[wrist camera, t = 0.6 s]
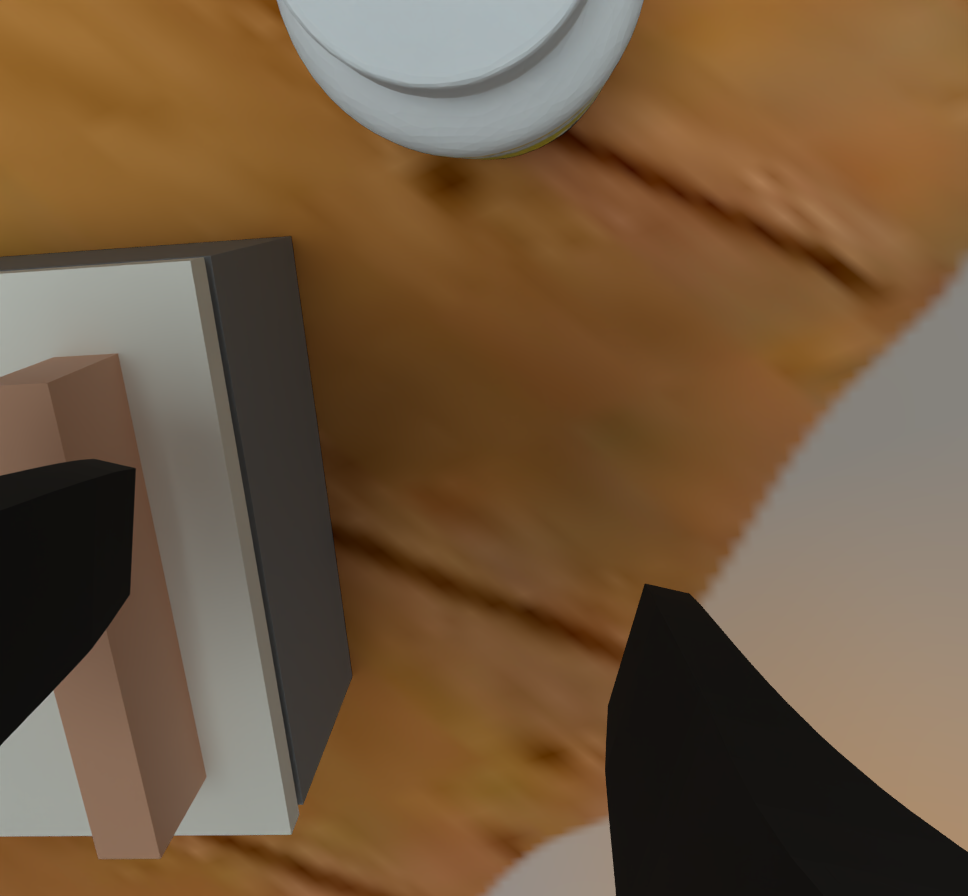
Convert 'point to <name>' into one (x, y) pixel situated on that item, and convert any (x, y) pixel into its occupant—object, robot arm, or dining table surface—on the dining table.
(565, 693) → the dining table surface
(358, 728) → the dining table surface
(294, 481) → the gray open box
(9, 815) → the lid
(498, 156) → the supplement bottle
